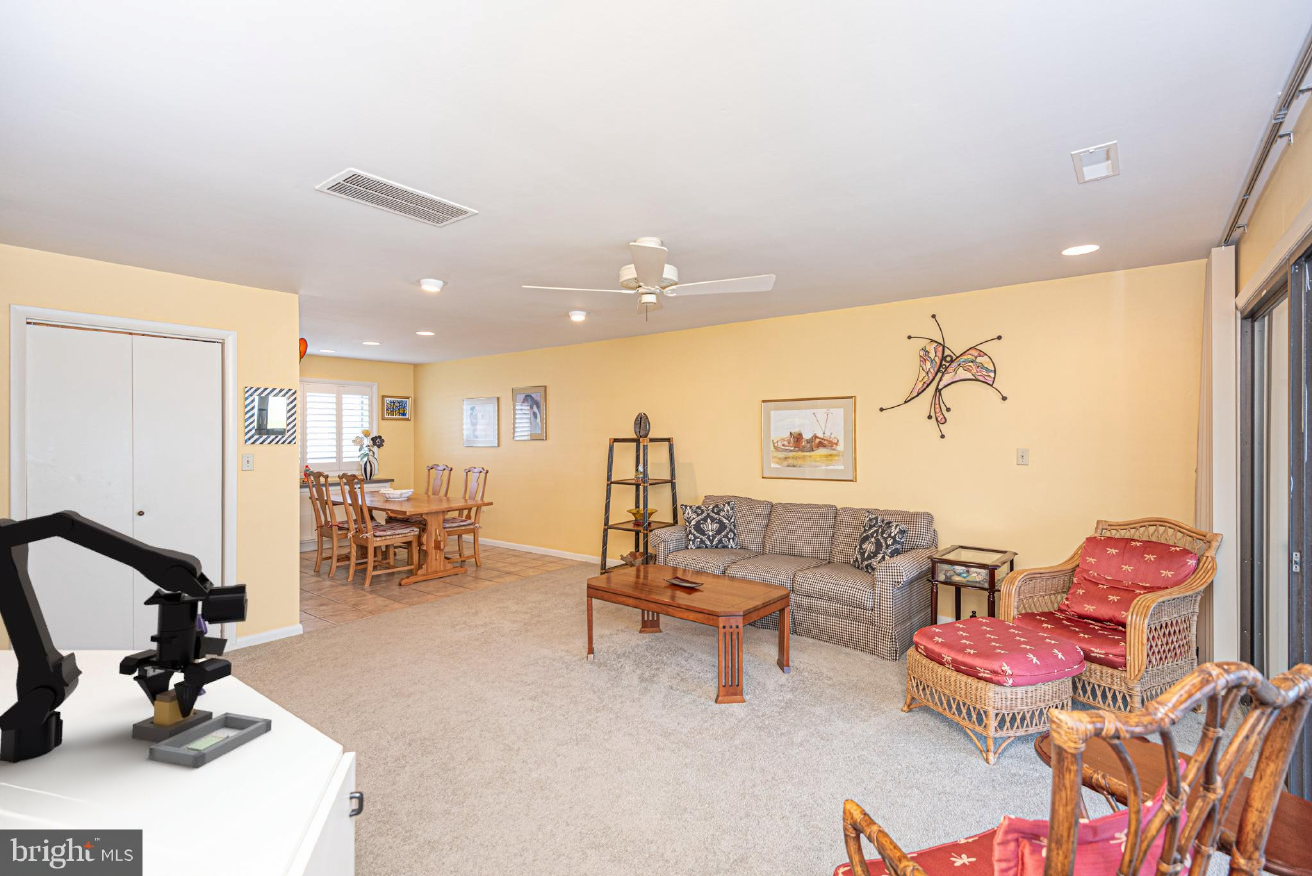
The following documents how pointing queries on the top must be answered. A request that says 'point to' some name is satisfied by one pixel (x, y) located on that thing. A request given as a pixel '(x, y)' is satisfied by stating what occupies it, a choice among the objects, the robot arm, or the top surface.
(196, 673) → the robot arm
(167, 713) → the block
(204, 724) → the parts tray
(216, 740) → the block
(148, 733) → the fuse holder
